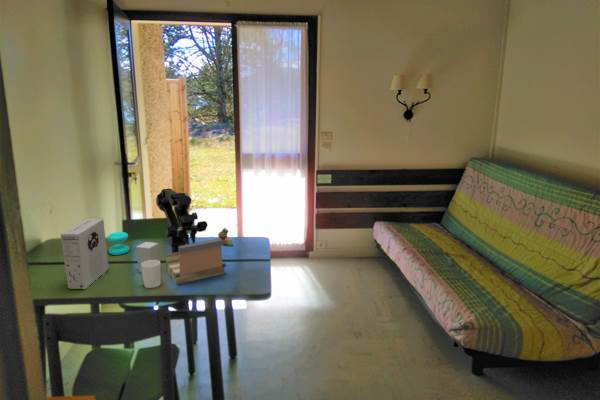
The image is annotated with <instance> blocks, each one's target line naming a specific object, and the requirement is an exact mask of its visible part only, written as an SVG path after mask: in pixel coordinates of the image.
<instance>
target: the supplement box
mask: <svg viewBox="0 0 600 400" xmlns="http://www.w3.org/2000/svg"><path fill="white" fill-rule="evenodd" d="M135 249H136V257H137V267H138V272H139V273H142V269H141V263H143V262H145V261H148V260H158V261H160V262H161V256H160V245H159V242H151V241H144V242H143V243H141V244H138V245H137V246H136V248H135ZM160 268H162V266H161V263H160Z"/></svg>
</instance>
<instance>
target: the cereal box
mask: <svg viewBox="0 0 600 400" xmlns="http://www.w3.org/2000/svg"><path fill="white" fill-rule="evenodd" d="M105 231H106V230H105V223H104V219H103V218H86V219H84V220H82V221H81V222H79V223H78V224H76V225H74V226H72V227H71V228H68V229H67V230H65V231H63V232H62V233H60V240H61V245H62V254H63V260H64V261H63V262H64V268H65V275H66V283H67V289H68V288H83V289H85V288H87V287H88V286H89V285H91V284H92V283H93V282H94V281H95V280H96V281H98V280H99V279H100V278H101V277H102V276H104V275H105V272H106V271H107V270H108V269H110V268H109V266H110V265H109V256H108V249H107V241H106V240H107V239H106V232H105ZM108 271H109V270H108ZM108 271H107V272H108ZM107 272H106V273H107ZM101 275H102V276H101ZM100 276H101V277H100ZM99 277H100V278H99ZM98 278H99V279H98ZM97 279H98V280H97ZM96 281H95V282H96ZM95 282H94V283H95ZM94 283H93V284H94ZM93 284H92V285H93ZM92 285H91V286H92ZM88 288H89V287H88ZM88 288H87V289H88Z"/></svg>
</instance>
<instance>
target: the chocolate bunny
mask: <svg viewBox="0 0 600 400" xmlns="http://www.w3.org/2000/svg"><path fill="white" fill-rule="evenodd" d="M228 233H229V229H227V228H226V227H224V228H223V229H222V230H221V231H219V233H218V234H217V235H218V239H219V238H220V239H222V240H223V246H224V247H232V246H234V243H233V241H232V239H231V238H230V237H229V236H228Z"/></svg>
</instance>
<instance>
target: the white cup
mask: <svg viewBox="0 0 600 400" xmlns="http://www.w3.org/2000/svg"><path fill="white" fill-rule="evenodd" d="M160 264H161V260H160V261H158V260H148V261H145V262H143V263H141V269H142V272H141V274H142V280H143V286H144V287H145V288H147V289H155V288H157V287H159V286H160V285H161V283H162V282H161V272H162V269H161V268H162V267H161V268H160Z"/></svg>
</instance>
